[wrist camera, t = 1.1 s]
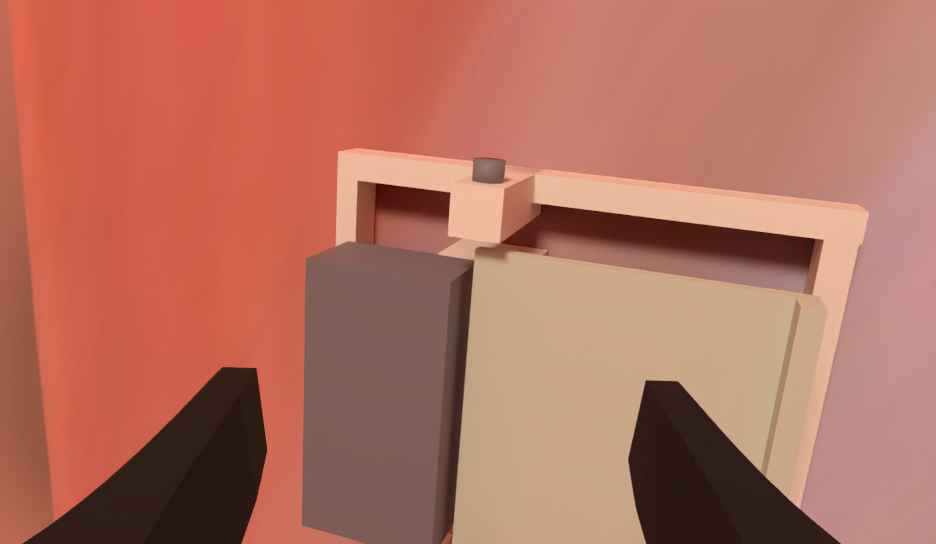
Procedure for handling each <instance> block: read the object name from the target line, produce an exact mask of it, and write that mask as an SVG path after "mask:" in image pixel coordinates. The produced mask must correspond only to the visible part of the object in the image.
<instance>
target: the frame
mask: <svg viewBox="0 0 936 544" xmlns="http://www.w3.org/2000/svg"><path fill="white" fill-rule="evenodd" d="M505 164H506V161H505V160H501V159H495V158H474V160H473V161H466V160H457V159H449V158H440V157H431V156H422V155H413V154H404V153H395V152H387V151H378V150H369V149H360V148H357V149H351V150H345V151H339V152H338V181H337V220H336V246H338V245H340V244H343V243H345V242H347V241H352V242H358V243H365V244H371V245H374V221H375V196H376V183H381V184H388V185H396V186H404V187H412V188H420V189H428V190H436V191H444V192H451V195H450V209H449V224H448V236H451V237H458V238H463V239H461V240H460V241H458V242H456V243H455V244H453V245H451V246H450V247H448V248H446V249H445V250H443V251H441V252H440V253H438V255H443V256H450V257H456V258H463V259H469V260H474V258H475V249H476V248H478V247H479V246H482V247H489V248H496V249H503V250H509V251H516V252H523V253H530V254H537V255H543V256H547V251H548V250H544V249H537V248H530V247H523V246H516V245H509V244H502V243H501V242H502V241H504V240H505V239H507V238H508V237H509V236H511V235H512V234H513V233H515V232H516V231H518V230H519V229H520V228H522V227H523V226H524V225H526V224H527V223H529V222H530V221H531V220H533V219H534V218H535V217H537V216H538V215H540V213H541V204H546V205H554V206H562V207H570V208H578V209H586V210H594V211H602V212H609V213H617V214H625V215H633V216H641V217H649V218H657V219H665V220H673V221H680V222H688V223H696V224H704V225H712V226H720V227H728V228H736V229H744V230H752V231H759V232H767V233H775V234H783V235H791V236H799V237H807V238H815V241H814V246H813V251H812V256H811V261H810V266H809V271H808V275H807V280H806V285H805V290H804V294H809V295H815V296H820V298H821V300H822V301H823V303H824V305H825V307H826V309H827V311H828V314H827V319H826V323H825V328H824V333H823V337H822V342H821V346H820V351H819V356H818V360H817V365H816V369H815V374H814V379H813V383H812V388H811V392H810V397H809V402H808V406H807V411H806V415H805V420H804V425H803V429H802V434H801V438H800V443H799V447H798V452H797V457H796V461H795V466H794V470H793V475H792V480H791V484H790V489H789V493H788V499H789V500H790V501H791V502H792V503H793V504H795V505H796V506H797V507H798V508H799V509H800V506H801V502H802V497H803V493H804V488H805V484H806V479H807V475H808V470H809V466H810V461H811V457H812V452H813V448H814V443H815V439H816V434H817V430H818V426H819V421H820V417H821V412H822V408H823V403H824V399H825V394H826V390H827V385H828V381H829V376H830V372H831V367H832V363H833V358H834V354H835V350H836V345H837V341H838V336H839V332H840V327H841V323H842V318H843V314H844V309H845V305H846V300H847V296H848V291H849V287H850V283H851V278H852V274H853V269H854V265H855V260H856V256H857V251H858V247H859V244H862V242H863V238H864V234H865V229H866V225H867V220H868V216H869V212H868V211H866V210H865V209H864V208H862V207H861V206H860V205H856V204H847V203H839V202H830V201H821V200H812V199H803V198H794V197H785V196H776V195H768V194H759V193H750V192H741V191H732V190H723V189H714V188H706V187H697V186H688V185H679V184H670V183H661V182H652V181H644V180H635V179H626V178H617V177H608V176H599V175H590V174H582V173H573V172H564V171H555V170H546V169H537V168H528V167H519V166H511V165H505ZM453 525H454V523H453ZM453 525H452V527H451V528H450V530H449V532H448V533H447V535H446V537H445V539H444V540H443V542H442V544H452V537H453Z"/></svg>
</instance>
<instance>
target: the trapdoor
mask: <svg viewBox="0 0 936 544" xmlns="http://www.w3.org/2000/svg"><path fill="white" fill-rule="evenodd" d="M827 314H828V311H827V309H826V307H825V305H824V303H823V301H822V300H821V298H820V296H815V295H809V294H802V293H795V292H788V291H781V290H775V289H768V288H761V287H754V286H747V285H741V284H734V283H727V282H720V281H713V280H707V279H700V278H693V277H686V276H679V275H673V274H666V273H659V272H652V271H645V270H639V269H632V268H625V267H618V266H611V265H605V264H598V263H591V262H584V261H577V260H571V259H564V258H557V257H550V256H543V255H537V254H530V253H523V252H516V251H509V250H503V249H496V248H489V247H482V246H479V247H478V248H476V249H475V258H474V260H469V259H463V258H456V257H450V256H443V255H436V254H430V253H423V252H417V251H410V250H404V249H397V248H391V247H384V246H378V245H371V244H365V243H358V242H352V241H347V242H345V243H343V244H340V245H338V246H335V247H333V248H331V249H328V250H326V251H323V252H321V253H319V254H316V255H314V256H311V257H309V258H306V292H305V361H304V430H303V498H302V525H303V526H307V527H310V528H314V529H317V530H321V531H324V532H328V533H332V534H335V535H339V536H342V537H346V538H349V539H353V540H357V541H360V542H364V543H367V544H442V542H443V540H444V539H445V537H446V535H447V533H448V532H449V530H450V528H451V527H452V525H453V523H454V525H453V537H452V544H646V542H645V539H644V535H643V532H642V528H641V525H640V522H639V518H638V514H637V511H636V506H635V500H634V495H633V489H632V483H631V476H630V470H629V463H628V457H629V452H630V448H631V444H632V439H633V435H634V430H635V426H636V421H637V417H638V412H639V408H640V403H641V399H642V394H643V390H644V386H645V381H646V380H656V381H678V382H679V383H680V384H681V385H682V386H683V387H684V388H685V389H686V391H687V392H688V393H689V394H690V395H691V396H692V397H693V399H694V400H695V401H696V402H697V403H698V404H699V405H700V407H701V408H702V409H703V410H704V411H705V412H706V413H707V414H708V416H709V417H710V418H711V419H712V420H713V421H714V422H715V424H716V425H717V426H718V427H719V428H720V429H721V430H722V431H723V433H724V434H725V435H726V436H727V437H728V438H729V439H730V440H731V441H732V442H733V444H734V445H735V446H736V447H737V448H738V449H739V450H740V451H741V452H742V453H743V454H744V455H745V456H746V457H747V458H748V459H749V461H750V462H751V463H752V464H753V465H754V466H755V467H756V468H757V469H758V470H759V471H760V472H761V473H762V474H763V475H764V476H765V477H766V478H767V479H768V480H769V481H770V482H771V483H772V484H773V485H775V486H776V487H777V488H778V489H779V490H780V491H781V492H782V493H783V494H784V495H785V496H786V497H787V498H788V493H789V489H790V484H791V480H792V475H793V470H794V466H795V461H796V457H797V452H798V447H799V443H800V438H801V434H802V429H803V425H804V420H805V415H806V411H807V406H808V402H809V397H810V392H811V388H812V383H813V379H814V374H815V369H816V365H817V360H818V356H819V351H820V346H821V342H822V337H823V333H824V328H825V323H826V319H827Z"/></svg>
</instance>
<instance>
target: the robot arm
mask: <svg viewBox="0 0 936 544" xmlns="http://www.w3.org/2000/svg"><path fill="white" fill-rule="evenodd" d="M266 453H267V444H266V437H265V429H264V422H263V414H262V407H261V399H260V392H259V385H258V377H257V370H256V368H232V367H223V368H221V369H220V370H219V371H218V372H217V373H216V374H215V375H214V376H213V377H212V378H211V379H210V380H209V381H208V382H207V383H206V384H205V386H204V387H203V388H202V389H201V390H200V391H199V392H198V393H197V394H196V395H195V396H194V397H193V398H192V399H191V400H190V401H189V402H188V403H187V404H186V405H185V406H184V407H183V409H182V410H181V411H180V412H179V413H178V414H177V415H176V416H175V417H174V418H173V419H172V420H171V421H170V422H169V423H168V424H167V425H166V426H165V427H164V428H163V429H162V430H161V431H160V432H159V433H158V434H157V435H155V436H154V437H153V438H152V439H151V440H150V441H149V442H148V443H147V444H146V445H145V446H144V447H143V448H142V449H141V450H140V451H139V452H138V453H137V454H136V455H134V456H133V457H132V458H131V459H130V460H129V461H128V462H127V463H126V464H124V465H123V466H122V467H121V468H120V469H119V470H118V471H117V472H115V473H114V474H113V475H112V476H111V477H110V478H109V479H108V480H106V481H105V482H104V483H103V484H102V485H101V486H99V487H98V488H97V489H96V490H95V491H93V492H92V493H91V494H90V495H89V496H87V497H86V498H85V499H84V500H82V501H81V502H80V503H79V504H77V505H76V506H75V507H73V508H72V509H71V510H69V511H68V512H67V513H66V514H64V515H63V516H62V517H60V518H59V519H58V520H56V521H55V522H54V523H52V524H51V525H49V526H48V527H47V528H45V529H44V530H42V531H41V532H40V533H38V534H36V535H35V536H33V537H32V538H30V539H29V540H27V541H26V542H24V543H23V544H241V543H242V540H243V537H244V534H245V532H246V529H247V526H248V523H249V520H250V517H251V514H252V511H253V508H254V505H255V503H256V499H257V495H258V490H259V486H260V482H261V477H262V472H263V468H264V463H265V458H266ZM628 463H629V470H630V476H631V483H632V489H633V495H634V500H635V506H636V511H637V514H638V518H639V522H640V525H641V528H642V532H643V535H644V539H645V542H646V544H841V543H839V542H838V541H837V540H836V539H834V538H833V537H832V536H831V535H830V534H828V533H827V532H826V531H825V530H824V529H822V528H821V527H820V526H819V525H818V524H816V523H815V522H814V521H813V520H812V519H810V518H809V517H808V516H807V515H806V514H805V513H804V512H802V511H801V510H800V509H799V508H798V507H797V506H796V505H795V504H793V503H792V502H791V501H790V500H789V499H788V498H787V497H786V496H785V495H784V494H783V493H782V492H781V491H780V490H779V489H778V488H777V487H776V486H775V485H773V484H772V483H771V482H770V481H769V480H768V479H767V478H766V477H765V476H764V475H763V474H762V473H761V472H760V471H759V470H758V469H757V468H756V467H755V466H754V465H753V464H752V463H751V462H750V461H749V459H748V458H747V457H746V456H745V455H744V454H743V453H742V452H741V451H740V450H739V449H738V448H737V447H736V446H735V445H734V444H733V442H732V441H731V440H730V439H729V438H728V437H727V436H726V435H725V434H724V433H723V431H722V430H721V429H720V428H719V427H718V426H717V425H716V424H715V422H714V421H713V420H712V419H711V418H710V417H709V416H708V414H707V413H706V412H705V411H704V410H703V409H702V408H701V407H700V405H699V404H698V403H697V402H696V401H695V400H694V399H693V397H692V396H691V395H690V394H689V393H688V392H687V391H686V389H685V388H684V387H683V386H682V385H681V384H680V383H679V382H678V381H656V380H646V381H645V386H644V390H643V394H642V399H641V403H640V408H639V412H638V417H637V421H636V426H635V430H634V435H633V439H632V444H631V448H630V452H629V457H628Z"/></svg>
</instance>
